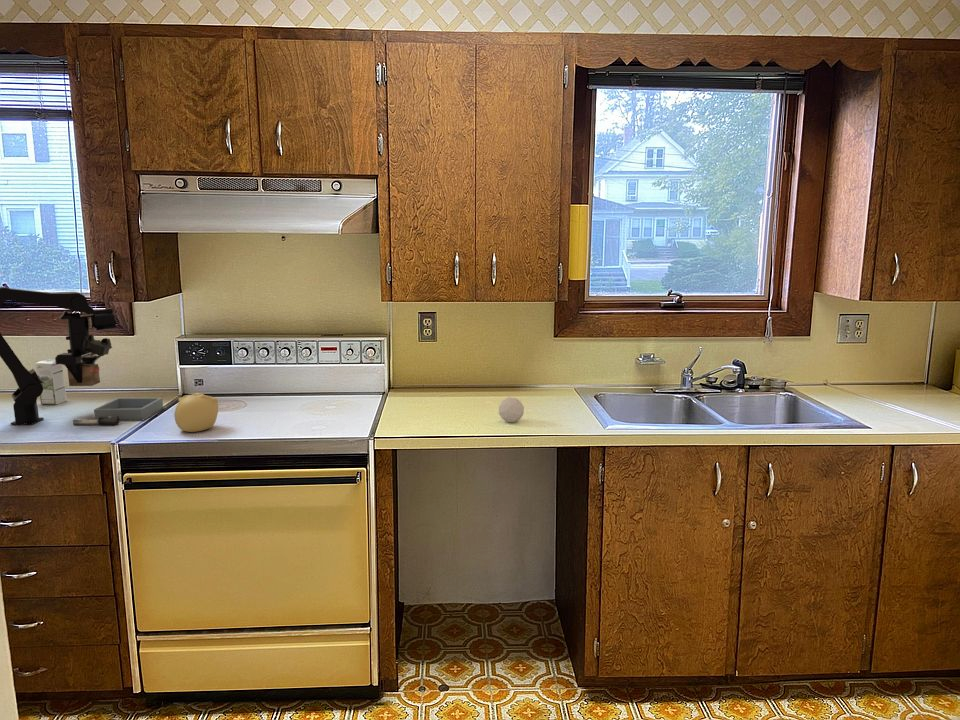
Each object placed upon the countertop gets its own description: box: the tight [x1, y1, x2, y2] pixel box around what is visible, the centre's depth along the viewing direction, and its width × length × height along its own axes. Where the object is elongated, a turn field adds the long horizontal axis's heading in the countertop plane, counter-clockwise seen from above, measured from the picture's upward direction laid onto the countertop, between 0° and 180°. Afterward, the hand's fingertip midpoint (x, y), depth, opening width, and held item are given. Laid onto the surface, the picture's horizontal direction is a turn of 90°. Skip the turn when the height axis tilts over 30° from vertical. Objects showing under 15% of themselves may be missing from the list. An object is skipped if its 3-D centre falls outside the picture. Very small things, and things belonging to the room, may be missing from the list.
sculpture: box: [174, 392, 219, 433], centre depth 206 cm, size 12×12×11 cm
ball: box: [498, 396, 525, 424], centre depth 214 cm, size 8×8×8 cm
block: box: [66, 363, 101, 387], centre depth 222 cm, size 5×7×6 cm
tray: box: [93, 397, 164, 421], centre depth 223 cm, size 15×15×4 cm
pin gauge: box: [72, 416, 120, 426], centre depth 212 cm, size 13×3×3 cm, turn 90°
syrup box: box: [35, 359, 68, 405], centre depth 237 cm, size 6×6×14 cm
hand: (84, 380), depth 223 cm, fingers closed on block, 5 cm apart
